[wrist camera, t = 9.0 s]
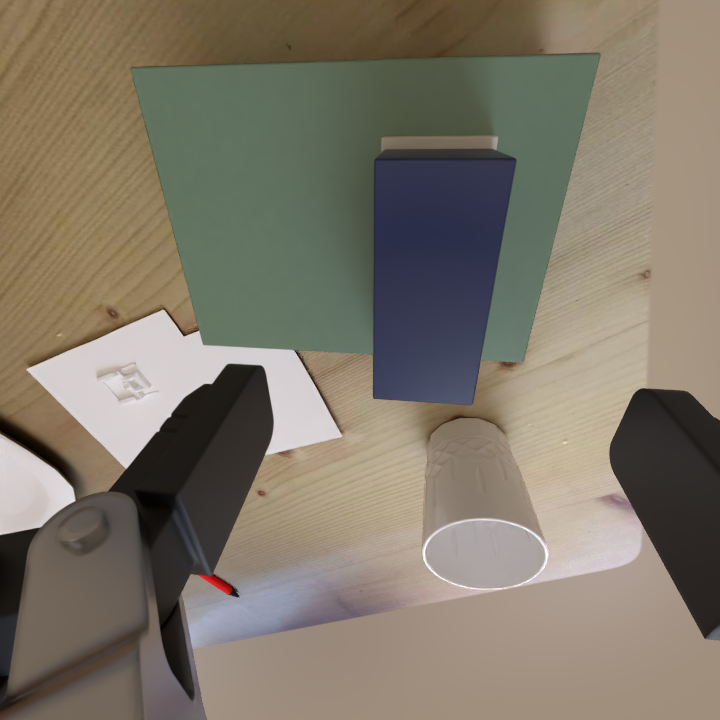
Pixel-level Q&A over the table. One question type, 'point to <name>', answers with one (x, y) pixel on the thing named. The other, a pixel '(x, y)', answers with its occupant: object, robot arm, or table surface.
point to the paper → (172, 385)
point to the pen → (220, 585)
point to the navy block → (435, 262)
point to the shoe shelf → (346, 183)
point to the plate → (29, 488)
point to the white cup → (478, 510)
